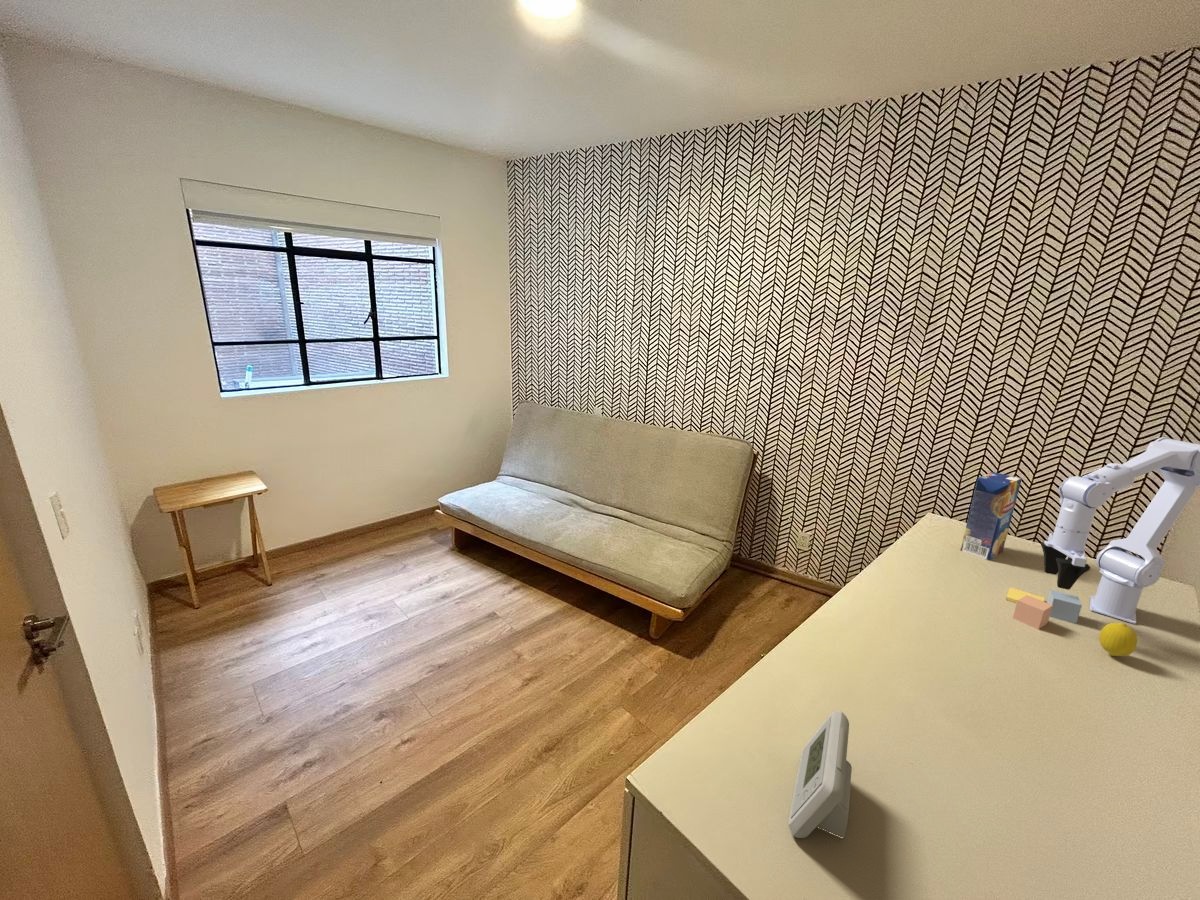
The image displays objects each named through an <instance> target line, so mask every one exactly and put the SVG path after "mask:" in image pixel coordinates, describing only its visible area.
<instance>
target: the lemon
mask: <svg viewBox="0 0 1200 900" xmlns="http://www.w3.org/2000/svg"><path fill="white" fill-rule="evenodd" d="M1098 635H1099V636H1098V640H1099V641H1098V642H1099V644H1100V646H1101V647H1102V649H1104V651H1106V652H1107V653H1108V654H1109V655H1110V656H1112V657H1126V656H1129V655H1131V654H1132V653H1134V652H1135V651H1136V648H1137V646H1138V636H1137V633H1136V632H1135V631H1134V630H1133V628H1132V627H1130V626H1129V625H1127V624H1126V623H1124V622H1112V623H1111V622H1110V623H1108V624H1105V626H1103V627H1102V629H1101V630H1100V632H1099V634H1098Z"/></svg>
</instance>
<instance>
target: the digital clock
mask: <svg viewBox="0 0 1200 900" xmlns="http://www.w3.org/2000/svg"><path fill="white" fill-rule="evenodd" d="M849 731H850V721H849V719H848V718H847V716H846V714H845V713H844V712H843V711H841V710H840V711H839V710H838V711H832V712H831V713H830V714H829V716H828V717H827V718H826V719H825V720H824V722H823V723H822V724H821V725H820V727H819V728H818V729H817V731H816V732H815V733H814V734H813V735H812V737H811V738H810V739H809V740H808V742H807V743H806V744H805V745H804V747H803V748H802V751H801V755H800V760H799V763H798V769H797V775H796V781H795V784H794V785H795V786H794V790H793V794H792V795H793V796H792V800H791V804H790V805H791V806H790V810H789V811H790V812H789V816H788V817H789V818H788V822H787V823H788V827H789V830H790V832H791V835H792V837H795V838H797V839H805V838H807V837H808V836H809V835H810V834H812V832H813V831H814V830H815V829H816V828H817V827H819V828H821V829H824V830H826V831H828V832H831V833H833V834H835V835H838V836H840V837H843V838H844V839H845V837H846V832H847V826H848V821H849V809H850V797H851V796H850V795H851V781H852V773H853V772H852V770H853V768H852V764H851V763H850V762H849V761H848V760H847V756H848V747H849V746H848V743H849V734H850V732H849ZM819 828H818V829H819ZM821 829H820V830H821ZM828 832H827V833H828Z"/></svg>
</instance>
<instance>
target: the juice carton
mask: <svg viewBox="0 0 1200 900" xmlns="http://www.w3.org/2000/svg"><path fill="white" fill-rule="evenodd" d="M1022 480H1023V478H1022V477H1017V476H1013V475H1010V474H1009V475H1008V474H1004V473H999V472H994V471H990V472H989V473H986V474H984V475H981V476H979V477H977V479H976V484H975V487H974V492H973V496H972V501H971V505H970V509H969V514H968V518H967V521H966V525H965V530H964V535H963V538H962V543H961V546H960V552H963V553H966V554H968V555H972V556H975V557H977V558H979V559H984V560H986V561H990V560H991V559H993V558H995V557H996V556H998V555H999V554H1000V553H1002V552H1003V551H1004V549H1005V548H1004V547H1005V543H1006V541H1007V537H1008V533H1009V529H1010V526H1011V522H1012V517H1013V514H1014V510H1015V506H1016V503H1017V498H1018V496H1019V491H1020V488H1021V484H1022Z"/></svg>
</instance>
